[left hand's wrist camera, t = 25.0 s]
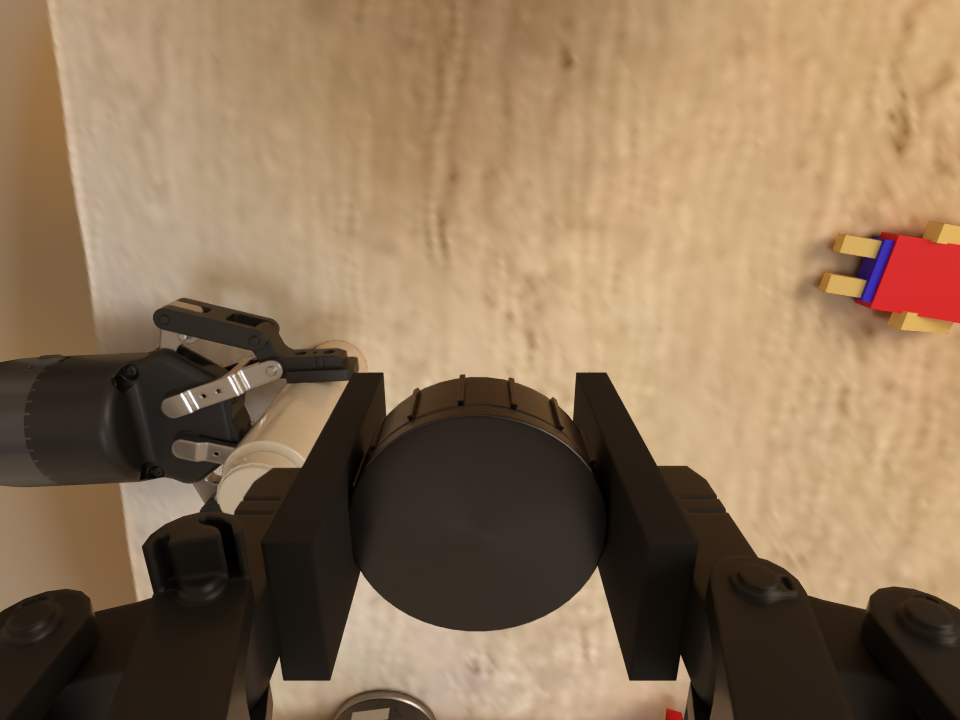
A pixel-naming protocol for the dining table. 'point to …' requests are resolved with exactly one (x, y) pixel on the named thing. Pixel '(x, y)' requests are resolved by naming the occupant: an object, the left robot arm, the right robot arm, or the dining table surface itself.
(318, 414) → the beige long cylinder
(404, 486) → the lid
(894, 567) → the dining table surface
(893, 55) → the dining table surface
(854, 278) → the toy figure
